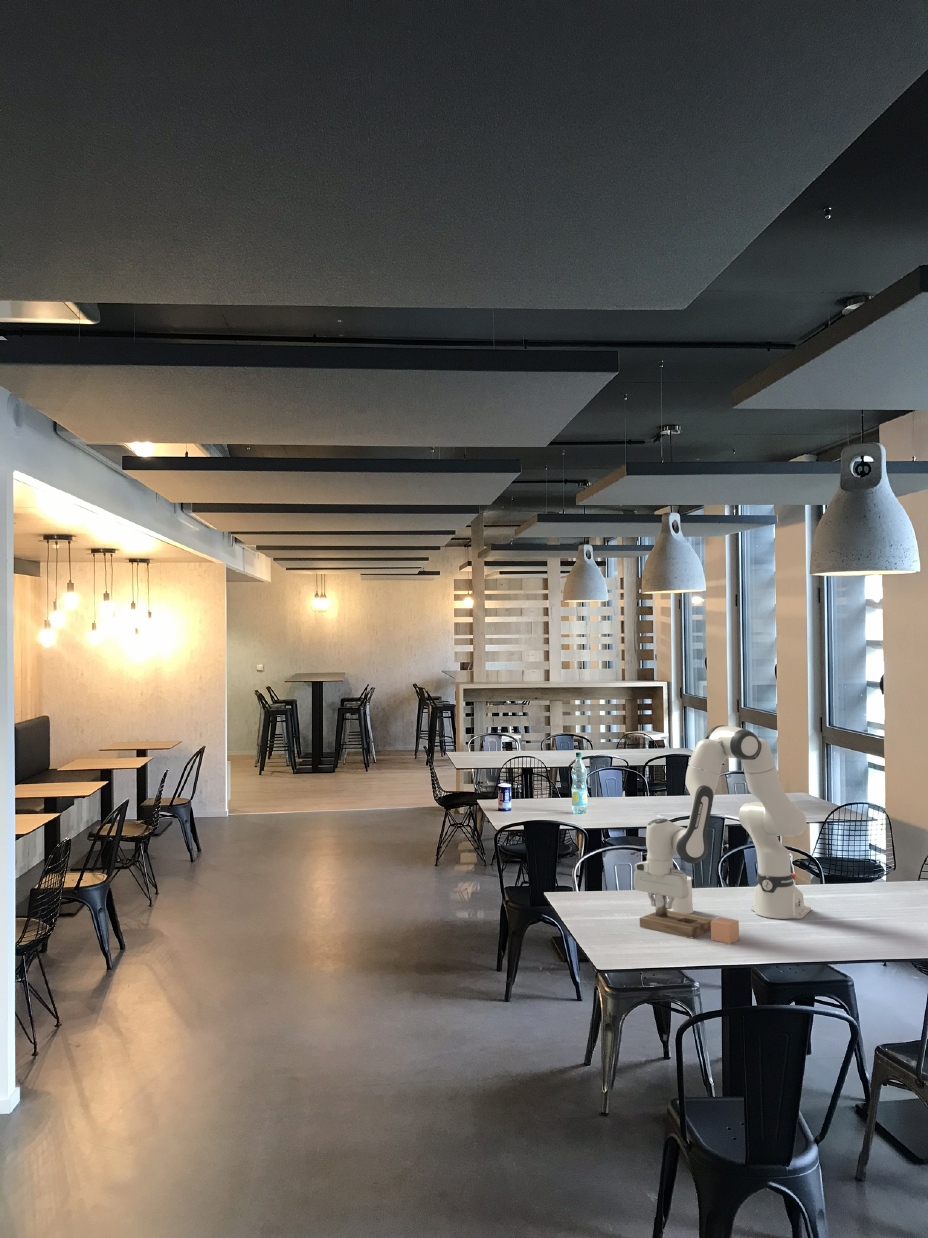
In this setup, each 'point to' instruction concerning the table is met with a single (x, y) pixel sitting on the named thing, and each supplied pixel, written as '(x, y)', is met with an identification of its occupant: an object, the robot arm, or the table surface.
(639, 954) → the table surface
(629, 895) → the table surface
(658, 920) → the board
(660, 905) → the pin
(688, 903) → the mug
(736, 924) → the tan wooden block
